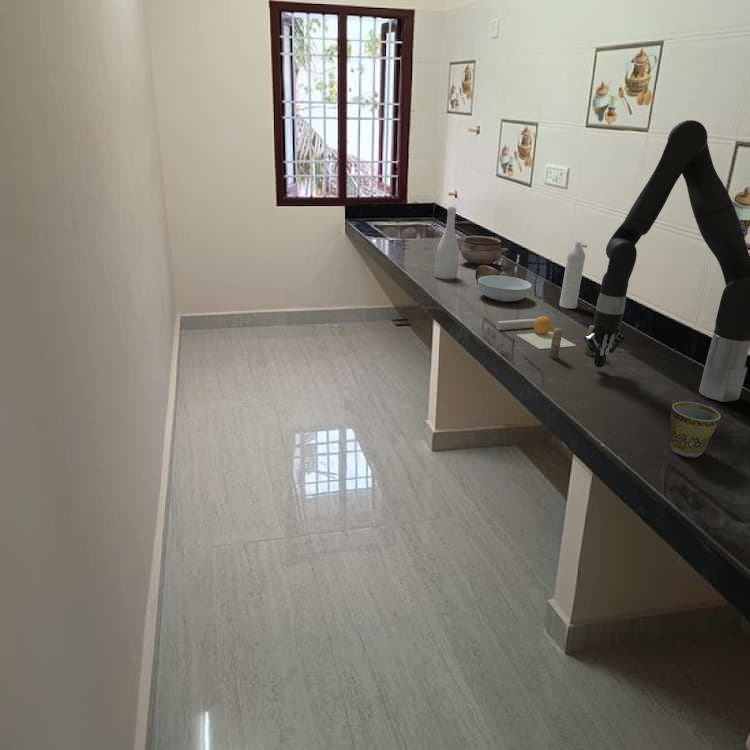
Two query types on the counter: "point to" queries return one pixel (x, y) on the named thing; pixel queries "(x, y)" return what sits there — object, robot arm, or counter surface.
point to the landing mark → (543, 340)
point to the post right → (587, 350)
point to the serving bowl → (504, 288)
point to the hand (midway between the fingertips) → (599, 366)
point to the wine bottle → (448, 250)
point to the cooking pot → (481, 250)
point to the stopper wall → (515, 324)
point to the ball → (542, 325)
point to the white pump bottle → (572, 276)
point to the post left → (555, 343)
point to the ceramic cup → (692, 427)
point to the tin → (485, 271)
